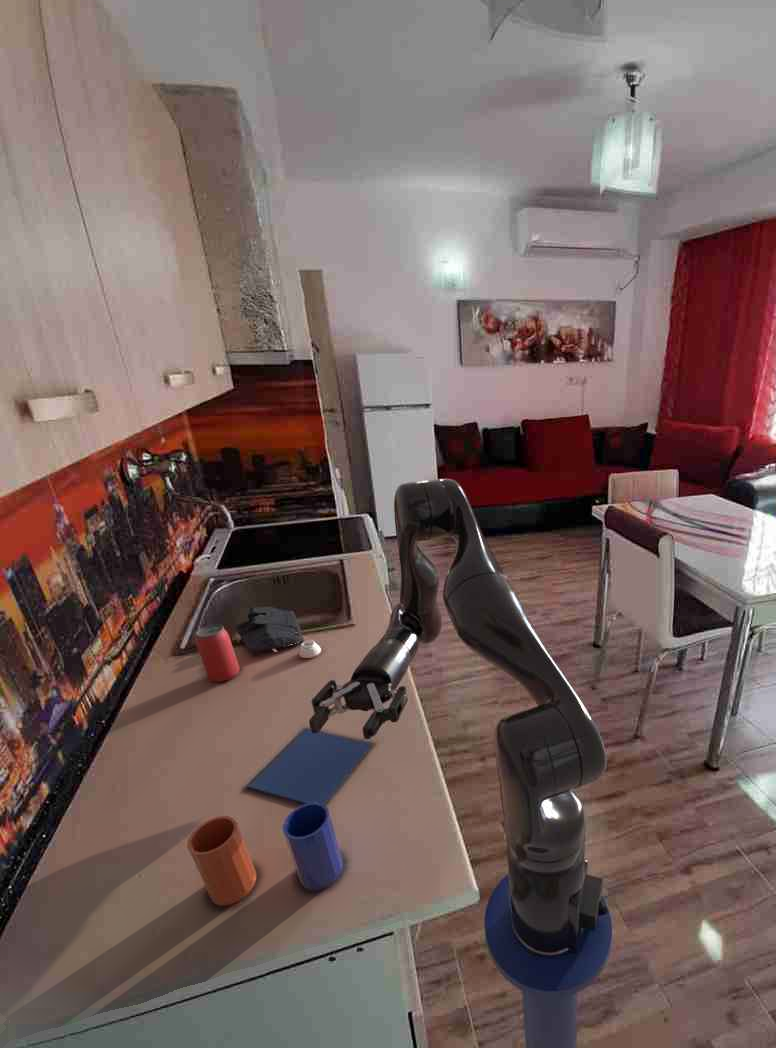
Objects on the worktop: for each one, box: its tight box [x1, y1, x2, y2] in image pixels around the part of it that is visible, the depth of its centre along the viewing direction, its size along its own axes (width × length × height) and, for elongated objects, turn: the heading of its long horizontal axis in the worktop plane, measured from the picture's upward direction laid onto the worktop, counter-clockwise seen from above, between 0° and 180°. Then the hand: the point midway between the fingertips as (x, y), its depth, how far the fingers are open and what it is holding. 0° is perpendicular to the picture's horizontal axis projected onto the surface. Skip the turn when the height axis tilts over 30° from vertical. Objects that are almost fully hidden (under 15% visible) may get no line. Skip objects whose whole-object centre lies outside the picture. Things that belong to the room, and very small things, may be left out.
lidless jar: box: [298, 639, 322, 659], centre depth 124 cm, size 5×3×5 cm
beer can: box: [195, 624, 241, 683], centre depth 116 cm, size 7×7×12 cm
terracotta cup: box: [186, 815, 257, 906], centre depth 68 cm, size 6×6×10 cm
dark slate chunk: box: [235, 606, 305, 654], centre depth 133 cm, size 15×22×5 cm
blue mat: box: [247, 728, 373, 805], centre depth 90 cm, size 15×15×1 cm
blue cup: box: [282, 802, 344, 891], centre depth 69 cm, size 6×6×10 cm
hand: (339, 731), depth 75 cm, fingers open, 8 cm apart
